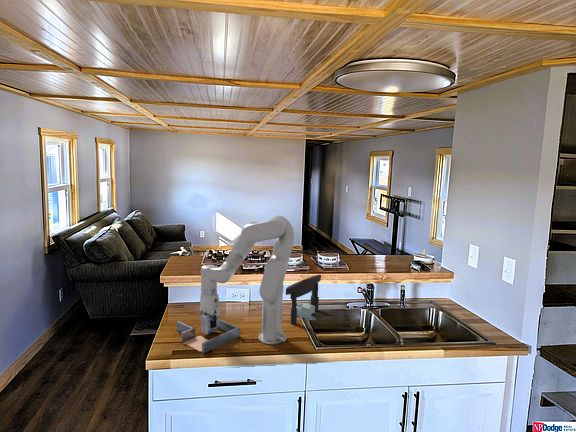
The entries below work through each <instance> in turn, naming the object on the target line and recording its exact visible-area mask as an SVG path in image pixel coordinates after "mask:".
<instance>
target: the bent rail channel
mask: <svg viewBox="0 0 576 432" xmlns="http://www.w3.org/2000/svg"><path fill="white" fill-rule="evenodd" d="M201 316H202V313H201V312H200V317H201ZM218 329H219V330H221V331H222V332H223V333H222V334H219V335H217V336H215V337H212V338H210V339H208V340H207V341H205V342H203V343H202V352H201V353H203V354H205V353H207V352H209V351H211V350H213V349H216V348H218V347H221V346H222V345H225V344H227V343H228V342H231V341H233V340H236V339H238V338H240V337H241V327H239V326H237V325H234V324H232V323H231V322H228V321H225V320H222V319H220V318H218ZM218 329H217V330H218ZM176 331H177V332H180V335H181V336H180V341H181V343H183V342H186V341H188V340H190V339H193V338H195V337H196V328H195V327H192V326H191V325H188V324H186V323H184V322H182V321H180V320H177V321H176Z"/></svg>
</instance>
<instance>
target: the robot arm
mask: <svg viewBox="0 0 576 432" xmlns="http://www.w3.org/2000/svg"><path fill="white" fill-rule="evenodd" d="M269 240H270V241H271V240H275V241H274V244H273V249H272V253H271V256H270V258H269V260H268V261H267V263H266V266H265V268H264V271H263V276H262V279H261V282H260V286H259V291H258V292H259V296H260V297H261V299H262V303H261V304H262V305H261V306H262V307H261V308H262V309H261V310H262V311H261V332H260V333H259V334H258V340H259V341H260V342H261V343H262V344H266V345H277V344H280V343H284V342H286V340H287V338H288V336H287V335H285V334H284V330H282V326H283V325H282V323H283V298H284V297H283V295H284V280H285V279H286V274H287V271H288V269H289V263H290V259H291V254H292V251H293V246H294V242H295V233H294V227H293V225H292V224H291V222H290V221H289V220H288V219H287V218H286V217H285V216H283V215H275V216H272V217H271V218H270V219H269V220H265V221H260V222H258V221H255V220H254V221H249V222H247V223H246V224H245V225H244V226H243V227H242V228H241V231H240V234H239V235H238V237H237V238H236V240H235V241H234V242H233V244H232V246H231V250H230V252H229V254H228V256H227V257H226V259H225V260H224V262H223V263H222V264H221V265H220V266H219V267H217V266H216V265H214V264H205V265H204V264H203V265H202V266H201V267H200V289H201V291H200V298H199V299H200V300H199V311H200V314H201V313H202V315H204V314H206V313H207V314H210V316H211V321H210V327H211V329H212V328H215V327H216V320H217V318H218V319H219V317H221V314H220V312H221V305H220V297H219V294H218V283H219V284H226V283H228V282H229V281H230V280H231V279H232V277H233V276H234V275H235V273H236V272H237V270H238V269H239V267H240V266H241V264H242V263H243V262H244V260H245V259H246V258H247V257H248V255H249V254H250V253H251V251H252V250H253V248H254V247H255V245H256V244H257V243H260V242H265V241H269ZM213 315H214V317H213Z"/></svg>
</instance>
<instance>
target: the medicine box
mask: <svg viewBox="0 0 576 432" xmlns="http://www.w3.org/2000/svg"><path fill="white" fill-rule="evenodd" d="M213 317H214V315H213ZM218 319H219V317H218V318H217V320H216V327H215V328H212V329H211V327H210V321H211V316H210V314H207V313H206V314H204V315H202V316H201V315H200V333H202V334H205V335H209V334H211V333H213V332H215V331H217V330H218Z"/></svg>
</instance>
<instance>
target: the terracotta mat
mask: <svg viewBox="0 0 576 432" xmlns="http://www.w3.org/2000/svg"><path fill="white" fill-rule="evenodd" d="M207 340H209V339H207V338H205V337H203V336H201V335H198V336H195V338H192V339H190V340H187V341H185V342H182V343H183V344H184V345H186V346H188V347H190V348H192V349H194V350H196V351H198V352H200V353H202V343H203V342H205V341H207Z"/></svg>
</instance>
